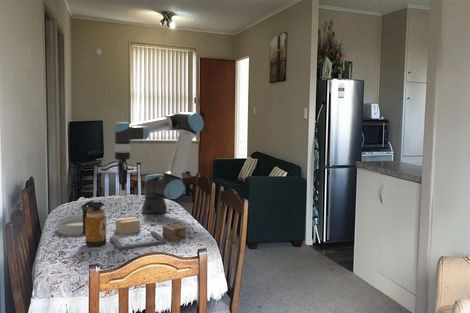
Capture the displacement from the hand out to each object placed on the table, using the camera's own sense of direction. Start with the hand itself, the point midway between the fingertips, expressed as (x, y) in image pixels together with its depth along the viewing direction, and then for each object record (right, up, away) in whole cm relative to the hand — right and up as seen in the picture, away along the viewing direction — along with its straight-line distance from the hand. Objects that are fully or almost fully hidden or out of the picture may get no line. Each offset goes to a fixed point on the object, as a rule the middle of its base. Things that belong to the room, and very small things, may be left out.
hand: (122, 195), depth 214 cm
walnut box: (+30, -19, -18) cm, 40 cm away
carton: (+5, -18, -7) cm, 19 cm away
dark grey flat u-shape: (+14, -19, -23) cm, 33 cm away
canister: (-5, -20, -28) cm, 35 cm away
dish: (-21, -17, -5) cm, 27 cm away
